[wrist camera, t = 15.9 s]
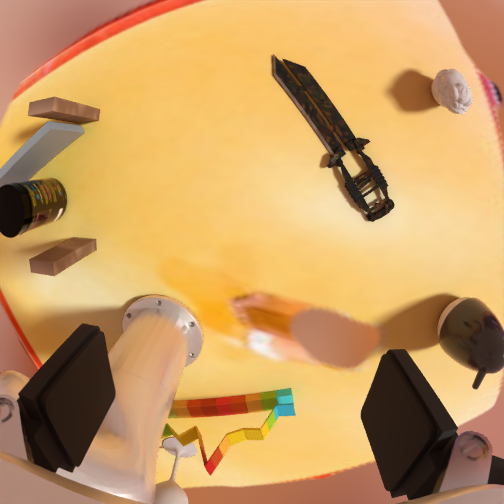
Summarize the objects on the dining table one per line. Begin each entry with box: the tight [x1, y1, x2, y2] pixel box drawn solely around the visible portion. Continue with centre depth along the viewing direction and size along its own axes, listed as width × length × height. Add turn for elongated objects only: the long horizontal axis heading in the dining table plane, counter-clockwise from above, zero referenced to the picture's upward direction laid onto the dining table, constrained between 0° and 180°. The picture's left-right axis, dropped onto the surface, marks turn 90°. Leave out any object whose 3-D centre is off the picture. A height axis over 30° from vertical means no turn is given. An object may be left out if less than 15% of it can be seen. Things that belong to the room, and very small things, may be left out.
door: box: [0, 121, 84, 187], centre depth 31 cm, size 15×2×8 cm, turn 115°
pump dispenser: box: [437, 297, 504, 389], centre depth 35 cm, size 10×10×15 cm
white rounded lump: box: [431, 69, 473, 114], centre depth 29 cm, size 6×7×7 cm
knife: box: [273, 55, 394, 222], centre depth 35 cm, size 25×6×1 cm, turn 30°
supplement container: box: [0, 178, 67, 238], centre depth 33 cm, size 7×7×10 cm
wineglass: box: [153, 437, 197, 504], centre depth 41 cm, size 8×8×21 cm
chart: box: [161, 388, 295, 475], centre depth 40 cm, size 30×3×15 cm, turn 101°
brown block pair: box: [28, 97, 100, 276], centre depth 32 cm, size 20×4×11 cm, turn 175°
